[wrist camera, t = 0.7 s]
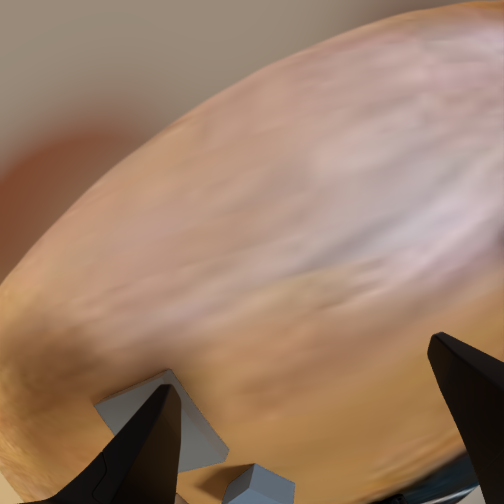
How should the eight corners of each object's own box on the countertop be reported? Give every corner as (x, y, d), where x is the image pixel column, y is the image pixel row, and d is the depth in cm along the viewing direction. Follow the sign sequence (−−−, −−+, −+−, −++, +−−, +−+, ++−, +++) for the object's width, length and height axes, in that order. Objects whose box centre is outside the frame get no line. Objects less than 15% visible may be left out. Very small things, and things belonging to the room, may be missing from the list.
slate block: (294, 482, 23) (293, 507, 19) (265, 502, 23) (261, 526, 19) (255, 462, 23) (249, 488, 19) (228, 484, 24) (219, 508, 20)
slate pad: (229, 449, 23) (224, 461, 21) (156, 467, 25) (149, 477, 23) (170, 368, 24) (160, 376, 22) (103, 398, 25) (93, 405, 23)
